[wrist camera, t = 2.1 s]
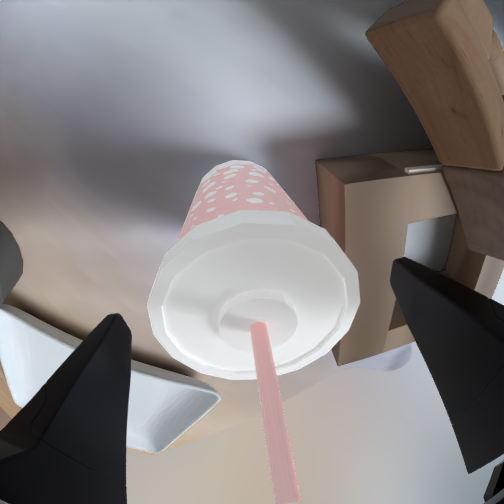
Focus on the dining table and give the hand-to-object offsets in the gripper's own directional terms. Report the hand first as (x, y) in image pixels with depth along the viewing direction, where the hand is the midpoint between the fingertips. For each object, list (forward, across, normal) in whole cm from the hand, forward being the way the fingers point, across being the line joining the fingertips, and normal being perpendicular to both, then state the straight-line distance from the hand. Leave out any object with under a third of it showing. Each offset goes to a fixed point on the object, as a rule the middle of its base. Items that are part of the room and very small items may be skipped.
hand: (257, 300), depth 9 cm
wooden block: (+4, -10, -11) cm, 16 cm away
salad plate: (+9, +19, +16) cm, 26 cm away
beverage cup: (+8, 0, 0) cm, 8 cm away
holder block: (+8, -12, +5) cm, 15 cm away
